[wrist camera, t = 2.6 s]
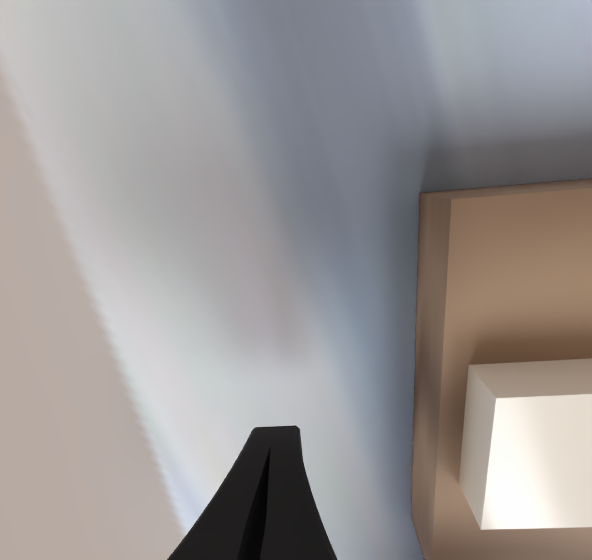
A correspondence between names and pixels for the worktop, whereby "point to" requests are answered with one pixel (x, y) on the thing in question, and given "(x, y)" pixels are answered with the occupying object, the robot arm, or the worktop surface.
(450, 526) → the walnut board
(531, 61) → the worktop surface
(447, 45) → the worktop surface
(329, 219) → the worktop surface
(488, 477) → the cream tile
